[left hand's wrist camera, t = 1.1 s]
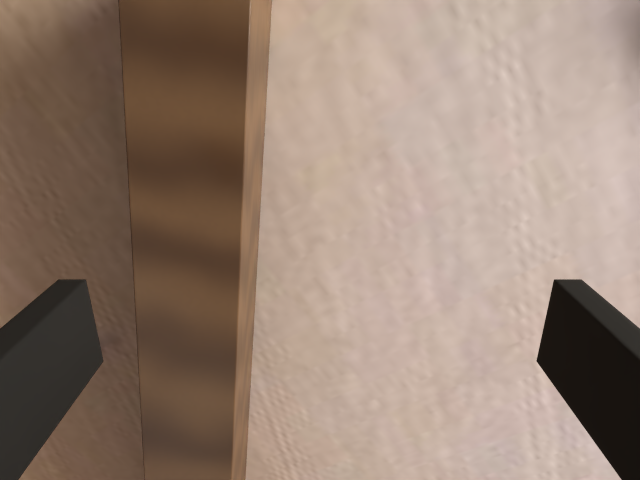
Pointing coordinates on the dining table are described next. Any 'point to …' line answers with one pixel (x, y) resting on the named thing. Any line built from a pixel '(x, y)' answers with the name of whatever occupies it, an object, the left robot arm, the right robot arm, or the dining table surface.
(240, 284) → the bar
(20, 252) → the dining table surface
